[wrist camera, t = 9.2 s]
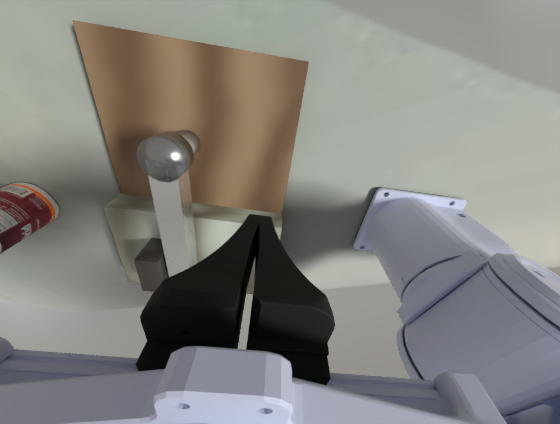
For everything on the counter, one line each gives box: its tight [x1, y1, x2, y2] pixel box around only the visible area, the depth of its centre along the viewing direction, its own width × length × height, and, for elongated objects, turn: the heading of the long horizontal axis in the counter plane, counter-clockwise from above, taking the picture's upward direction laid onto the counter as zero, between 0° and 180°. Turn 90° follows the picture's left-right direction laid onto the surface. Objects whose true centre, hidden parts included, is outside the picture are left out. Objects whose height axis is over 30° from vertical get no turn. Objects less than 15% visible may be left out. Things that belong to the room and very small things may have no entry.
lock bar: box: [137, 131, 198, 277], centre depth 18 cm, size 14×3×2 cm, turn 172°
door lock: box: [72, 20, 309, 294], centre depth 19 cm, size 16×23×6 cm
